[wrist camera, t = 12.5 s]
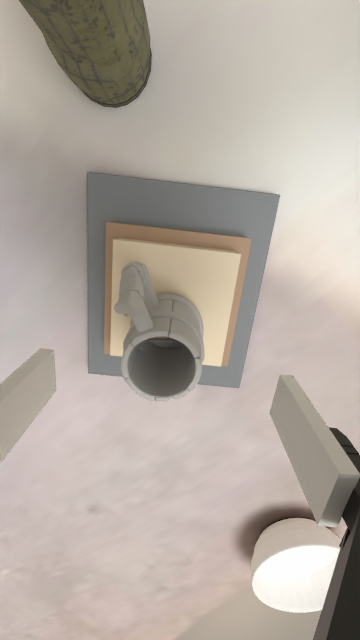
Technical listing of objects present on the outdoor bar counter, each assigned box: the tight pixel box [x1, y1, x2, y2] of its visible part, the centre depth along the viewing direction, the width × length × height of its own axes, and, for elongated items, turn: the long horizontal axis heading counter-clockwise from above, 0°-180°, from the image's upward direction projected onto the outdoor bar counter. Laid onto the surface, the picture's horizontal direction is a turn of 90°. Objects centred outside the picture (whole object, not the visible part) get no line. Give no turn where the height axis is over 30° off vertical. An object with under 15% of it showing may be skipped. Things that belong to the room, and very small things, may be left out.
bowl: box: [251, 518, 342, 613], centre depth 50 cm, size 18×18×7 cm
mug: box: [114, 261, 205, 402], centre depth 24 cm, size 8×12×12 cm, turn 22°
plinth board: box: [87, 172, 280, 388], centre depth 34 cm, size 26×22×8 cm
